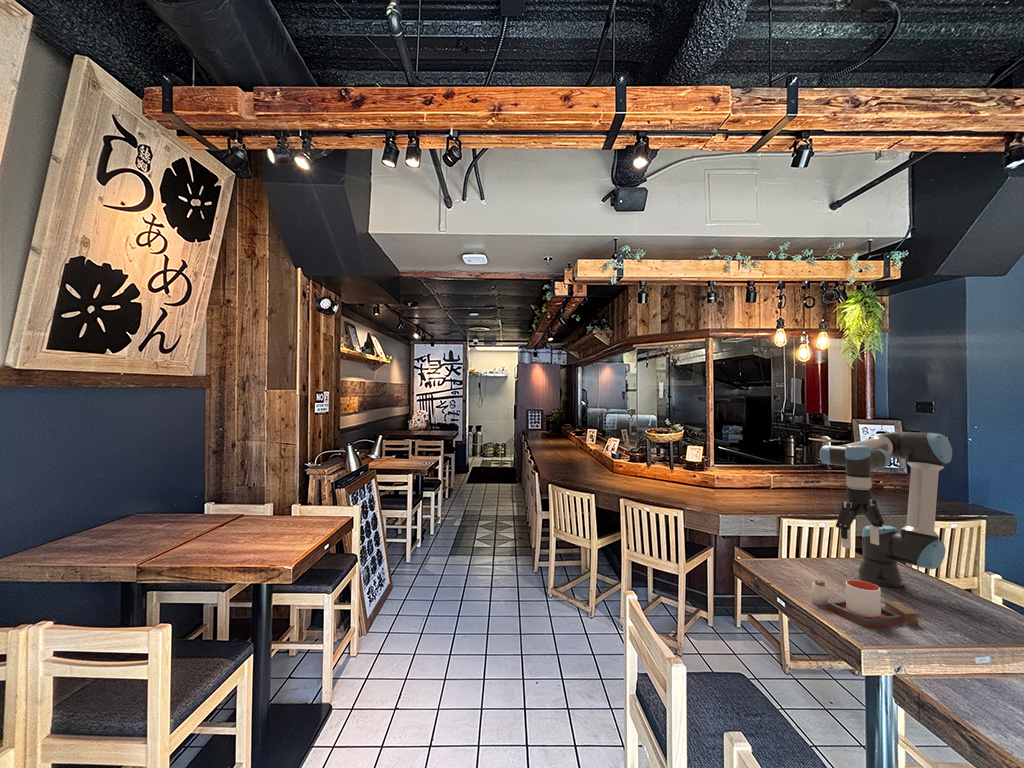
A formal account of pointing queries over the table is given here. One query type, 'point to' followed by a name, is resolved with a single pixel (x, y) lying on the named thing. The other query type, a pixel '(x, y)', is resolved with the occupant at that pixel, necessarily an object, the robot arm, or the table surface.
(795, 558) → the table surface
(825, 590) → the ceramic jar
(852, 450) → the robot arm
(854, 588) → the cup
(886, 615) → the tray
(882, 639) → the table surface
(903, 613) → the box
